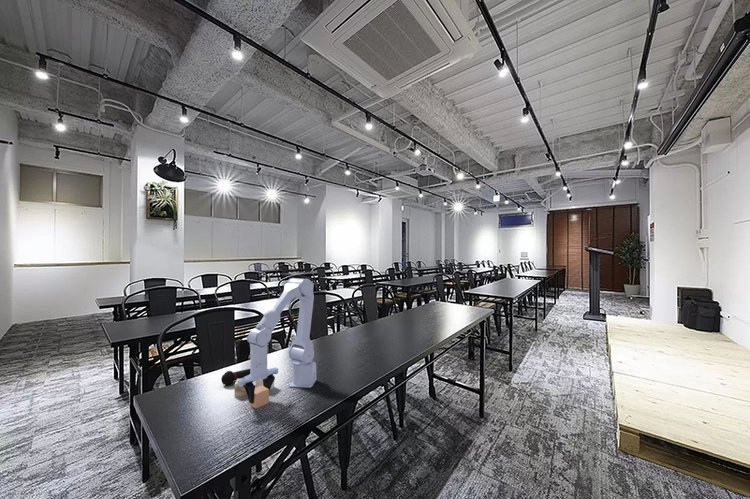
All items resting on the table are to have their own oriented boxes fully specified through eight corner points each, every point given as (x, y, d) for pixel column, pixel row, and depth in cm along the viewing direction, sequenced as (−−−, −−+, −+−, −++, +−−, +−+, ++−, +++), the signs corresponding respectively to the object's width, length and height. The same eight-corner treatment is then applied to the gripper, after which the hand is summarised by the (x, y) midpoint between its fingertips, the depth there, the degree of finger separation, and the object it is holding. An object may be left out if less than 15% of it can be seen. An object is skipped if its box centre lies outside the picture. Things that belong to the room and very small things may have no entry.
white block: (274, 387, 117) (274, 374, 117) (266, 393, 112) (266, 380, 112) (263, 385, 118) (263, 373, 118) (255, 391, 113) (255, 378, 113)
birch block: (250, 389, 114) (250, 377, 115) (248, 395, 110) (248, 382, 110) (237, 391, 113) (237, 378, 113) (234, 397, 108) (234, 384, 108)
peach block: (261, 398, 107) (261, 385, 107) (268, 402, 104) (268, 389, 104) (248, 404, 103) (248, 390, 103) (255, 408, 100) (255, 394, 100)
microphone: (256, 375, 135) (219, 388, 117) (254, 363, 137) (217, 373, 119) (265, 373, 134) (228, 386, 115) (263, 361, 135) (227, 371, 117)
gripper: (244, 370, 96) (244, 411, 96) (282, 358, 107) (282, 395, 107) (234, 365, 100) (234, 404, 100) (272, 354, 111) (272, 389, 111)
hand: (258, 399), depth 104 cm, fingers closed on peach block, 5 cm apart
